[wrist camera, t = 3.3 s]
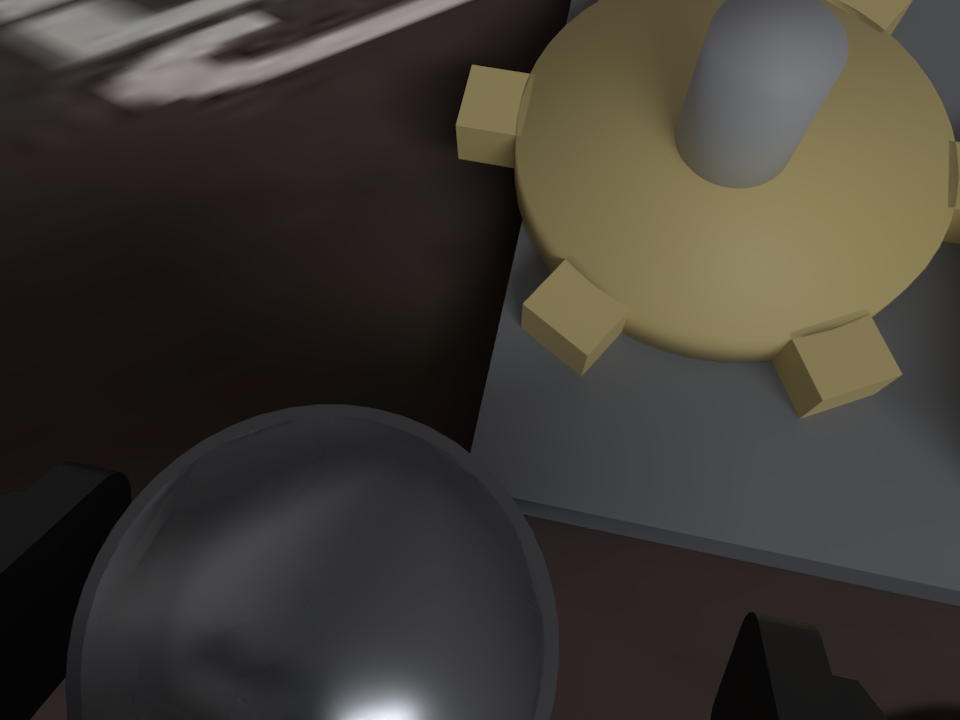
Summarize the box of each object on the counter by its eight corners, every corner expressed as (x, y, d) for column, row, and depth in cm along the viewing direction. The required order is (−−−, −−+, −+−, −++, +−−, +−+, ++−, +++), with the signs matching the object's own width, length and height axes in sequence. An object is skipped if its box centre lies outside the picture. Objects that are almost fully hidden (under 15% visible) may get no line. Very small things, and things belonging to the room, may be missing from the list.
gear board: (387, 485, 17) (338, 409, 12) (515, -17, 22) (521, -232, 16) (1392, 698, 15) (1865, 719, 10) (1295, 99, 20) (1581, -101, 15)
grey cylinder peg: (327, 722, 15) (-18, 855, 5) (372, 547, 17) (165, 365, 6) (500, 764, 15) (504, 994, 5) (534, 582, 16) (597, 452, 6)
